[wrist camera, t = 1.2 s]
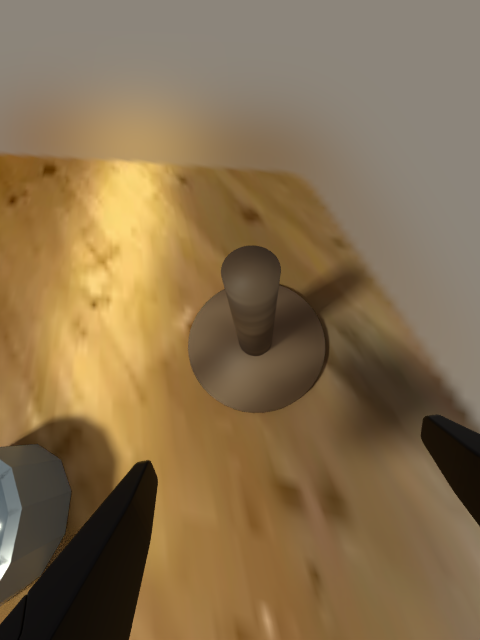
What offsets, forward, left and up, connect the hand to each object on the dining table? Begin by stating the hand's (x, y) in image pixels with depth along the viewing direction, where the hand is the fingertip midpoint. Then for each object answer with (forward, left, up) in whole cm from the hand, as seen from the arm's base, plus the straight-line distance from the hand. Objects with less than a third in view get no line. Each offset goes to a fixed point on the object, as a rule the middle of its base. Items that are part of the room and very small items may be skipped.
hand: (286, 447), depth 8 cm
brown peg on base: (+7, -4, -13) cm, 16 cm away
